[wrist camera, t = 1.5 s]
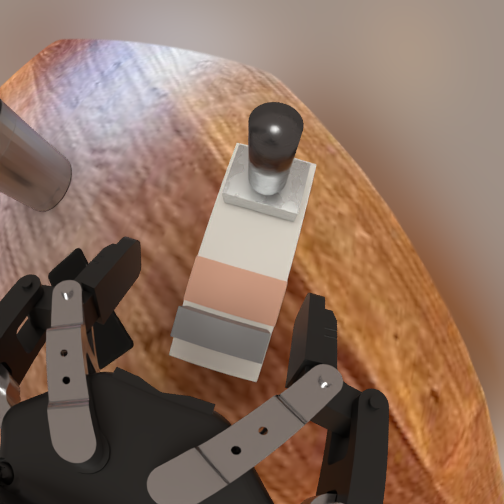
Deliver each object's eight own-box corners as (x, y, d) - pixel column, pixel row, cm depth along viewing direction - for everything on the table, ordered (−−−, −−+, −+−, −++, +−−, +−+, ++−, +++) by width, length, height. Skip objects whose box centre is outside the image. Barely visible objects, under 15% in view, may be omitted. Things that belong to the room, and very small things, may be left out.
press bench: (236, 150, 35) (234, 124, 29) (313, 171, 35) (325, 148, 29) (172, 351, 31) (157, 361, 25) (256, 377, 31) (258, 393, 25)
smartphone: (78, 245, 33) (134, 345, 31) (81, 246, 34) (136, 344, 32) (46, 274, 32) (97, 371, 30) (49, 275, 33) (100, 370, 31)
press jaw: (239, 157, 33) (236, 83, 20) (305, 175, 32) (334, 109, 20) (224, 202, 32) (209, 142, 19) (293, 222, 31) (321, 172, 19)
